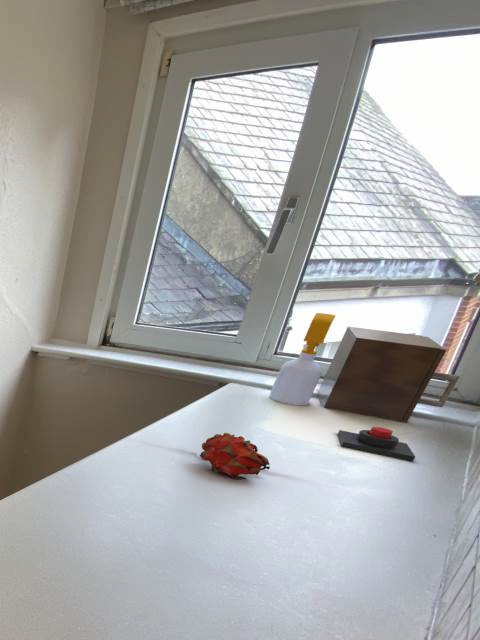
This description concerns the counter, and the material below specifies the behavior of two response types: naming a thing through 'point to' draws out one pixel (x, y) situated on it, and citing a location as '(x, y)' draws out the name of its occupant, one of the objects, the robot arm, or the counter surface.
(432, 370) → the door
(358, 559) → the counter surface
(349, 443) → the red and black buzzer
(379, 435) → the button
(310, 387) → the soap bottle
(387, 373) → the cupboard
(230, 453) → the dragon fruit
